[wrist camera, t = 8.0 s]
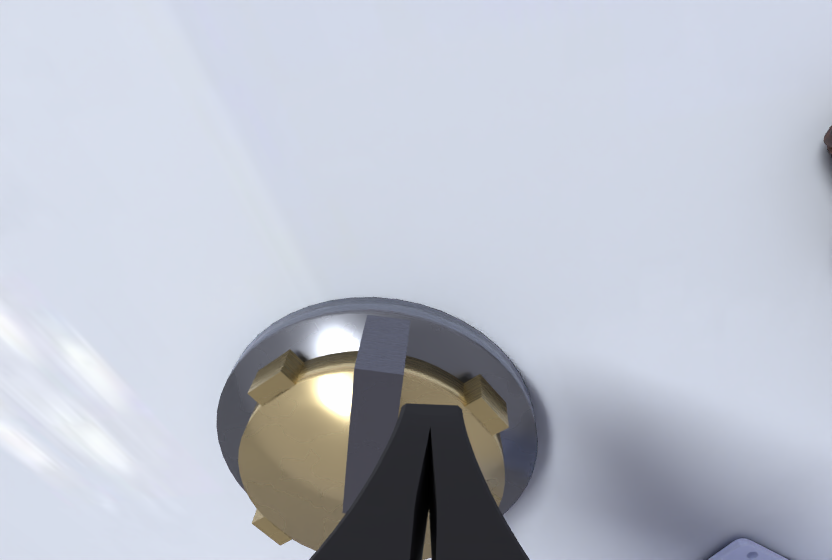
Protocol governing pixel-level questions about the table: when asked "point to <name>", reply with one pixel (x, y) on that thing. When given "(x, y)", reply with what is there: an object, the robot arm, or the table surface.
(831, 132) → the bolt
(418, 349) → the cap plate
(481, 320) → the table surface
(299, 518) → the tabbed brass dial
